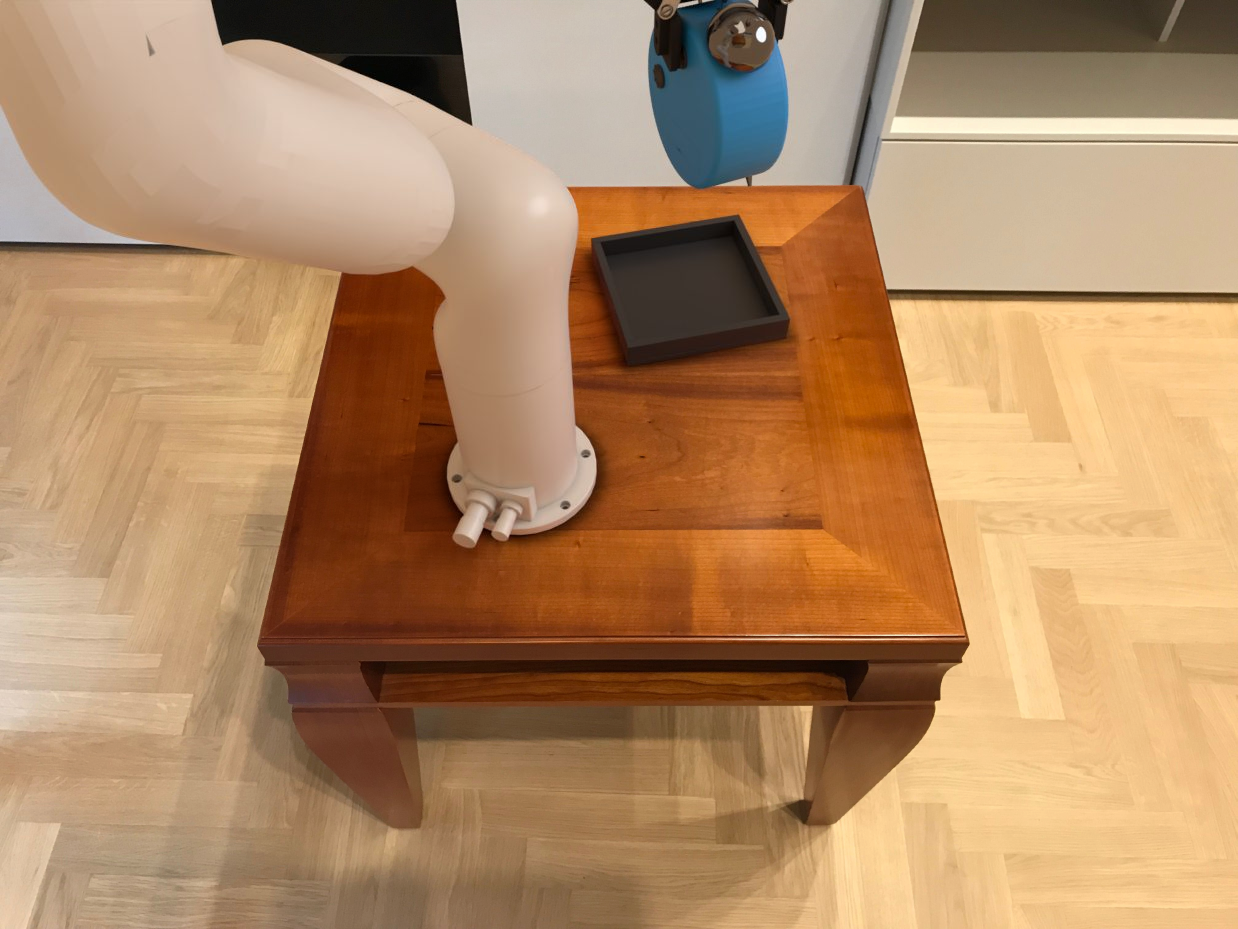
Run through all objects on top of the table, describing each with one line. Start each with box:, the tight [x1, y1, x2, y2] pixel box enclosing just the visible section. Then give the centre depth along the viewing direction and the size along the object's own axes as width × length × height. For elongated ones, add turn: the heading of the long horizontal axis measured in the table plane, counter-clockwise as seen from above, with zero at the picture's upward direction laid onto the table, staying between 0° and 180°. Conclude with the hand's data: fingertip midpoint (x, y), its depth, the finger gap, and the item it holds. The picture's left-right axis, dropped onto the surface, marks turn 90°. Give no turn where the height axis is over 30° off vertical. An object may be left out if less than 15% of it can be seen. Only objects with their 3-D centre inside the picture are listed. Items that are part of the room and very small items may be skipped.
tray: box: [590, 213, 791, 368], centre depth 92 cm, size 16×16×3 cm
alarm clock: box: [647, 0, 790, 190], centre depth 72 cm, size 13×6×15 cm, turn 22°
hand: (717, 53), depth 70 cm, fingers closed on alarm clock, 6 cm apart
